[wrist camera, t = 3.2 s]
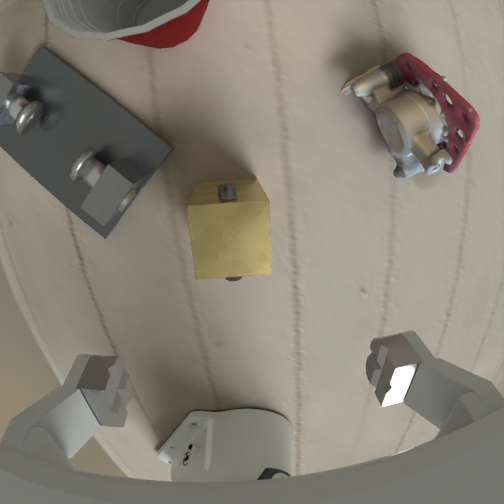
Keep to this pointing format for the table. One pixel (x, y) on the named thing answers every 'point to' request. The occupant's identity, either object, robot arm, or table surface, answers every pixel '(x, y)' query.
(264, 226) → the block
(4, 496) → the robot arm
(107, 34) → the plastic cup
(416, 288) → the table surface
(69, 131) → the shaft stand
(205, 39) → the table surface
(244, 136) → the table surface
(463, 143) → the brake caliper
